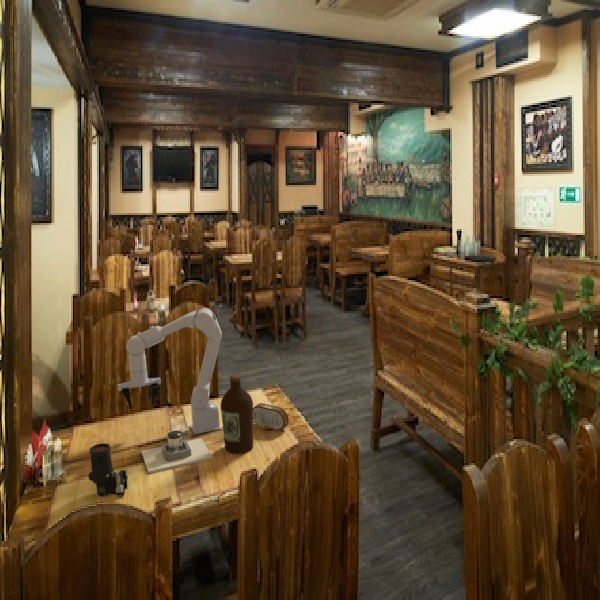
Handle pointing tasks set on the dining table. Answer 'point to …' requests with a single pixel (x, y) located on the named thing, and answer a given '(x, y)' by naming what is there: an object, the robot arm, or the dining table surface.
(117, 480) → the black camera
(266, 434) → the dining table surface
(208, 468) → the dining table surface
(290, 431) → the dining table surface
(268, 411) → the tin
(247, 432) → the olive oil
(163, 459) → the mount plate
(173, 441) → the lens
